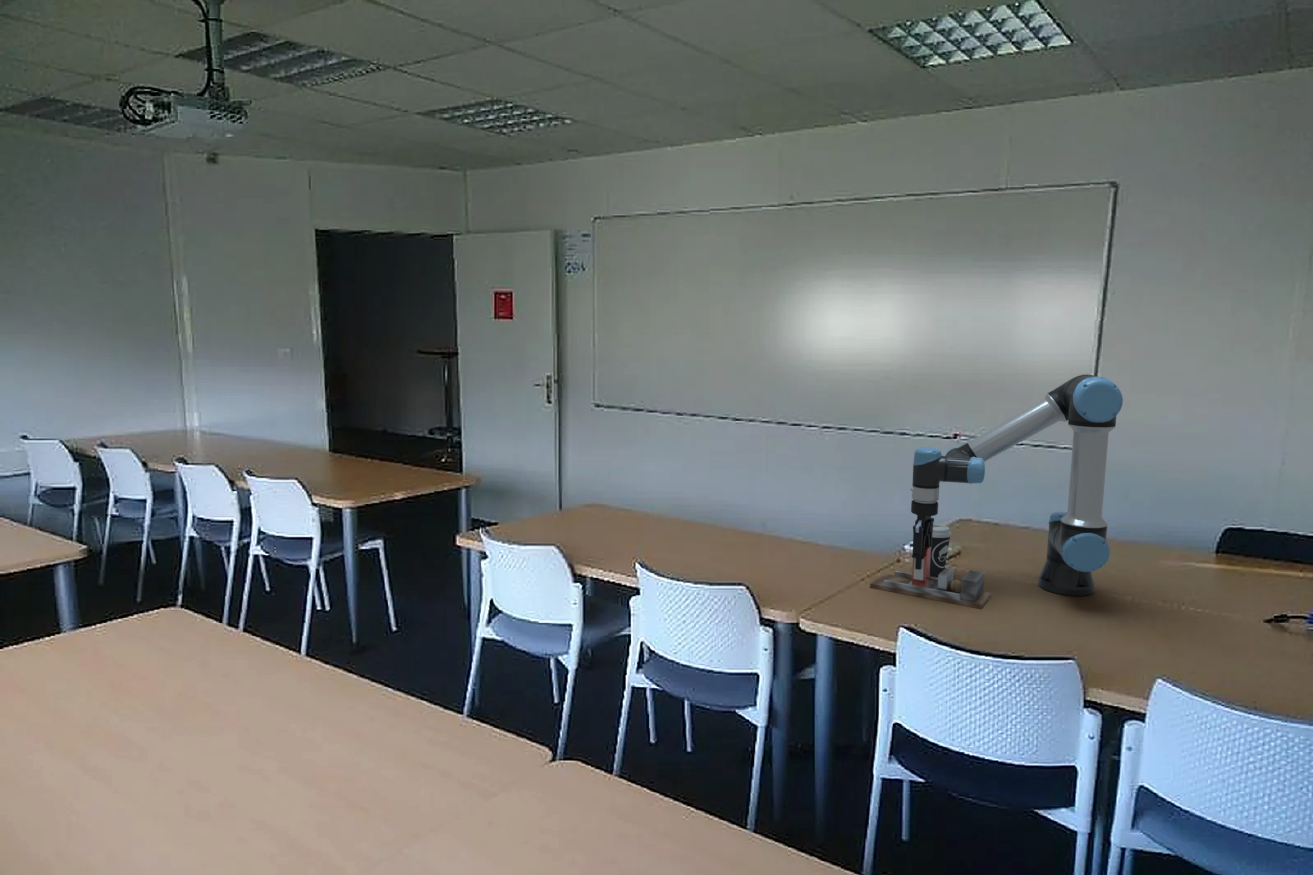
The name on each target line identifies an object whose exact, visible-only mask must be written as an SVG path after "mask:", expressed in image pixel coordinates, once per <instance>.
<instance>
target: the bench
mask: <svg viewBox="0 0 1313 875" xmlns="http://www.w3.org/2000/svg"><path fill="white" fill-rule="evenodd" d="M929 580H935V581H938V577H935V576H930V577H929ZM911 581H912V572H911V573H910V572H904V571H899V570H895V571H894V574H889V573H882V574H881V575H879V576H878V577H877V578H875V579H874V580H873V581H872V582H870V584H869V588H871V589H877V590H881V591H887V592H891V593H892V592H893V593H897V594H902V595H907V596H912V597H918V598H923V599H927V600H933V601H937V602H944V603H949V604H952V605H954V604H955V605H960V606H965V607H970V608H974V609H975V608H976V609H980V610H982V609H983V607H985V605H986V604H987V602H988V601H989V600H990V598H992V592H988V591H984V583H985V572H981V571H977V570H968V572H967V573H966V574H965V575H964V576H963V577H962V578H961V580H960V581H961V593H954V592H952V591H951V590H950V591H949V592H947V591H942V590H936V589H931V588H926V587H920V586H915V585H910V584H909V583H910V582H911Z"/></svg>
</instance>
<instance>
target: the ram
mask: <svg viewBox="0 0 1313 875" xmlns="http://www.w3.org/2000/svg"><path fill="white" fill-rule="evenodd" d="M924 558H925V560H924V578H923V580H918V579H913V578H914V560H915V558H912V570H911V571H912V572H911V574H912V581H911V582H910V583H909V584H910V585H915V586H920V587H926V588H931V589H936V590H942V591H947V592H949V591H950V590H951V589H950V583H951V582H952V581H953V580H955V579H954V578H955V568H951V567H945V569H944V570H943V571H942V572H941V573H940V574H939V576H937V578H938V581H935V580H929V577H931V576H930V558H931V546H928V545H925V548H924Z"/></svg>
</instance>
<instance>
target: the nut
mask: <svg viewBox="0 0 1313 875" xmlns="http://www.w3.org/2000/svg"><path fill="white" fill-rule="evenodd" d="M961 581H962V580H960V579H954V580H953V581H952V582H951V583H950V589H951V591H952V592H954V593H961Z"/></svg>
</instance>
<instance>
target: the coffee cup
mask: <svg viewBox="0 0 1313 875" xmlns="http://www.w3.org/2000/svg"><path fill="white" fill-rule="evenodd" d="M952 536H953V533H952V531H951V529H950V528H949V526H947V525H943V524H938V523H937V524H934V523H933V534H932V549H931V551H932V554H931V558H930V577H938V576H939V574H940V573H941V572H942V571H943V570H944V569H945V568H947V561H948V559H947V558H948V553H949V547H950V546H949V545H950V539H951V537H952Z"/></svg>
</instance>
